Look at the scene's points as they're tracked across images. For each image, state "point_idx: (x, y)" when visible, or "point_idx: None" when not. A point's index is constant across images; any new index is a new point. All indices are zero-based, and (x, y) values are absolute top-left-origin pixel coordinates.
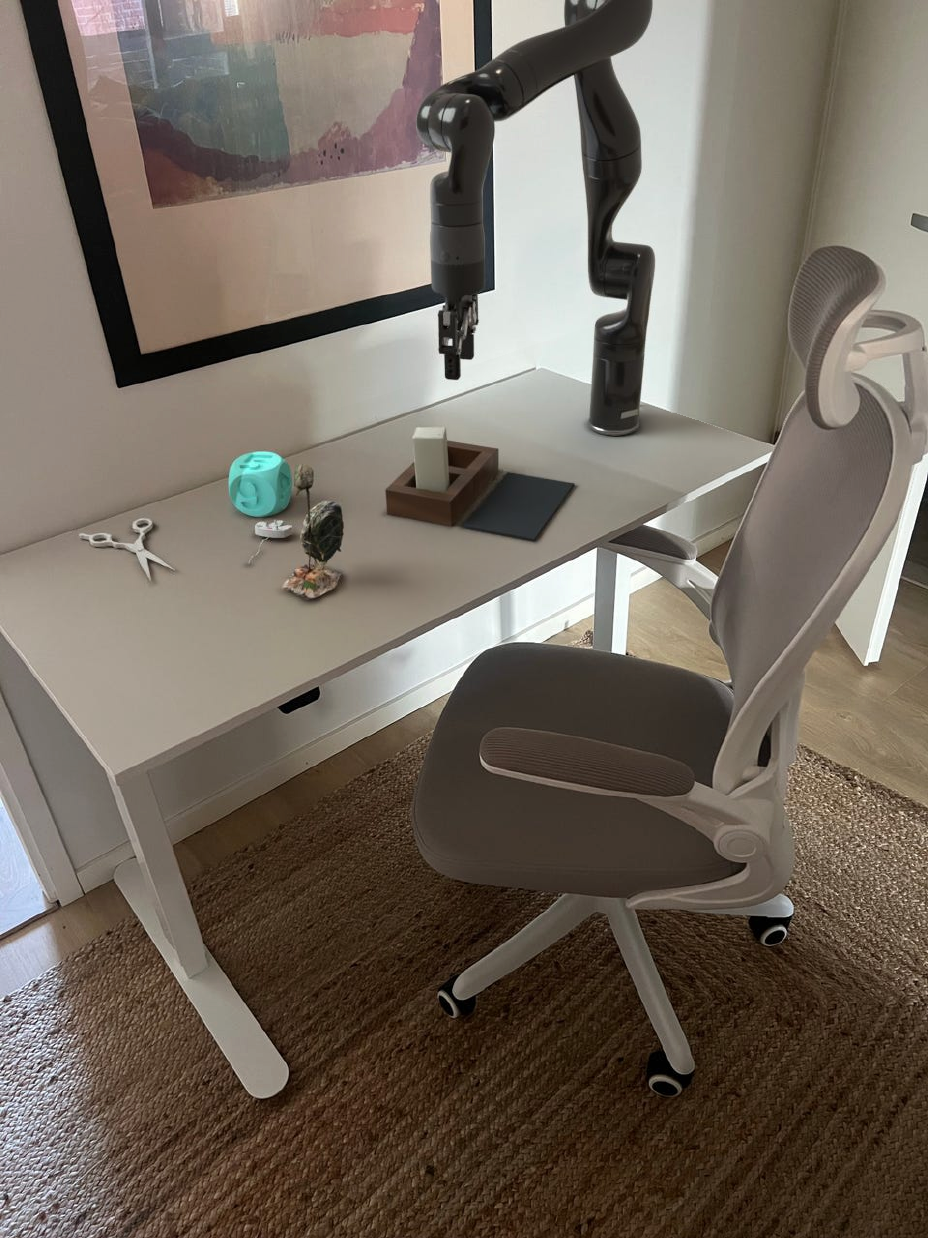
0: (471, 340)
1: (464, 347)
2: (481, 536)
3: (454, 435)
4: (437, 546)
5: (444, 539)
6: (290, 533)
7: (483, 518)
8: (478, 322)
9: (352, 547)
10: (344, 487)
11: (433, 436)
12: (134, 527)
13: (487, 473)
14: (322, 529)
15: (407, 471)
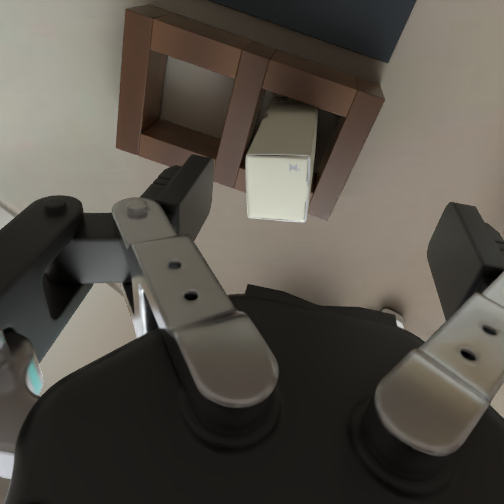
0: (187, 199)
1: (197, 212)
2: (427, 16)
3: (28, 112)
4: (453, 105)
5: (428, 94)
6: (391, 311)
7: (363, 19)
8: (57, 197)
9: (431, 236)
10: (245, 260)
11: (301, 180)
12: None
13: (200, 27)
14: None
15: None
